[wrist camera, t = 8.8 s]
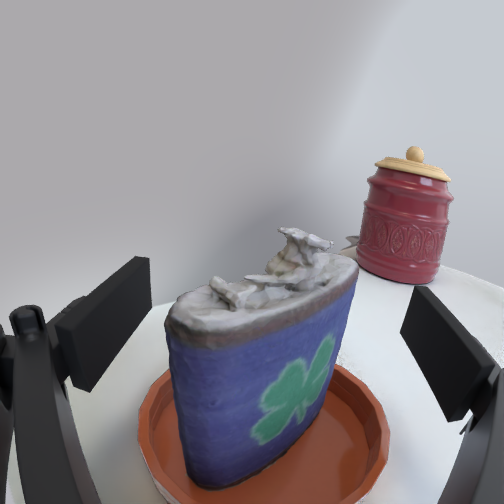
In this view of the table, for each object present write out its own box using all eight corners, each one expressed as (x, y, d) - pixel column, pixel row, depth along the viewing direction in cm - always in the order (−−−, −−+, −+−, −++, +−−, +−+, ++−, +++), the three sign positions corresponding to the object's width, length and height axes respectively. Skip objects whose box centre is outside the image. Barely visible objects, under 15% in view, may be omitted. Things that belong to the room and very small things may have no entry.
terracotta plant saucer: (113, 511, 8) (98, 493, 7) (179, 358, 19) (178, 332, 18) (390, 532, 7) (413, 516, 6) (354, 375, 19) (363, 350, 18)
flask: (297, 384, 17) (331, 210, 14) (336, 406, 15) (388, 225, 12) (173, 465, 11) (143, 239, 7) (215, 507, 9) (217, 281, 5)
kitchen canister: (387, 250, 49) (402, 149, 43) (448, 277, 38) (471, 161, 32) (335, 257, 43) (352, 134, 37) (407, 293, 32) (435, 143, 26)
